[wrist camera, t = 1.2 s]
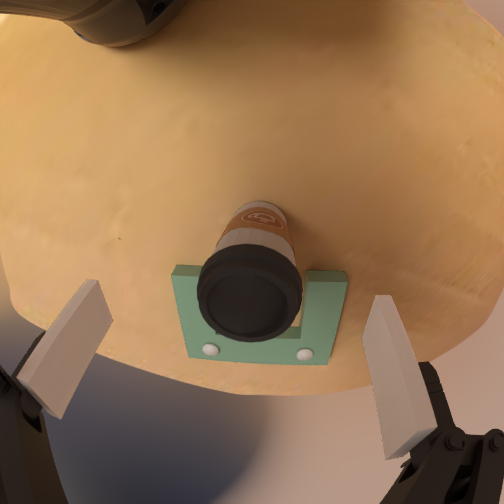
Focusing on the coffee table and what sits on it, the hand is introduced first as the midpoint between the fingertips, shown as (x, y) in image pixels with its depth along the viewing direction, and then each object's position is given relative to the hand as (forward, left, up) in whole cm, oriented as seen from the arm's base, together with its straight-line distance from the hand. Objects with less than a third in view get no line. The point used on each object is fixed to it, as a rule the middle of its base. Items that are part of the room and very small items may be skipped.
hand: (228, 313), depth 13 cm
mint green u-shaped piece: (+20, 0, -21) cm, 29 cm away
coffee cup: (+5, 0, -22) cm, 22 cm away
